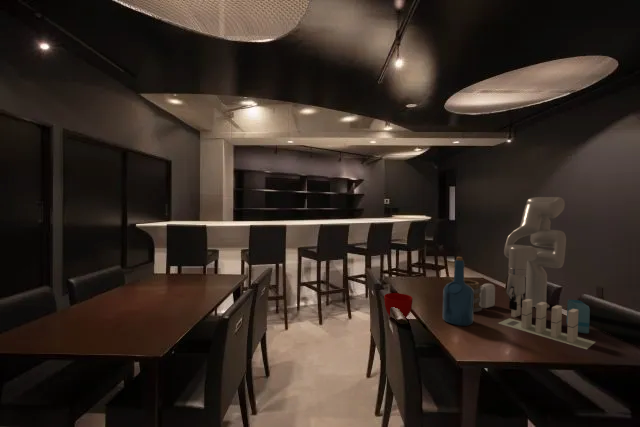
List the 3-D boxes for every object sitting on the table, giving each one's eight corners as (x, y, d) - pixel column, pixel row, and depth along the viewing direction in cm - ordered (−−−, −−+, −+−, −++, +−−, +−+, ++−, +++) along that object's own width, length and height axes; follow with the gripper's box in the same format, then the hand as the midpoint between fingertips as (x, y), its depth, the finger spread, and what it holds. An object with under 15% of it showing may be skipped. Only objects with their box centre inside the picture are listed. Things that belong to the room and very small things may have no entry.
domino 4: (555, 333, 134) (556, 305, 134) (561, 334, 133) (562, 306, 133) (550, 336, 131) (551, 307, 130) (555, 337, 129) (557, 308, 129)
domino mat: (509, 319, 152) (509, 318, 152) (595, 342, 126) (595, 341, 126) (497, 324, 145) (497, 323, 145) (586, 350, 119) (586, 349, 119)
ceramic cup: (410, 312, 159) (411, 292, 159) (412, 323, 142) (413, 301, 142) (384, 309, 162) (384, 290, 161) (383, 320, 145) (384, 299, 145)
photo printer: (487, 304, 176) (488, 281, 176) (495, 306, 172) (496, 283, 172) (477, 306, 170) (478, 283, 170) (485, 309, 167) (486, 285, 166)
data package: (589, 335, 134) (590, 307, 134) (576, 333, 136) (577, 305, 135) (578, 325, 145) (579, 299, 145) (566, 324, 147) (567, 298, 147)
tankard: (485, 309, 166) (486, 281, 166) (472, 313, 159) (473, 283, 158) (450, 299, 182) (451, 273, 182) (437, 303, 175) (438, 276, 175)
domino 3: (540, 328, 139) (541, 301, 138) (545, 330, 137) (546, 302, 137) (535, 331, 135) (536, 304, 135) (540, 333, 134) (541, 305, 133)
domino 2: (526, 325, 143) (527, 298, 143) (531, 326, 142) (532, 299, 141) (521, 327, 139) (522, 300, 139) (525, 329, 138) (526, 301, 138)
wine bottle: (449, 314, 156) (451, 254, 155) (477, 322, 147) (479, 257, 146) (436, 321, 146) (438, 256, 146) (466, 329, 137) (468, 260, 136)
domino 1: (516, 314, 158) (517, 290, 158) (520, 315, 157) (521, 291, 157) (511, 317, 155) (511, 292, 155) (515, 318, 153) (515, 293, 153)
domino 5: (571, 337, 130) (573, 308, 130) (577, 339, 128) (578, 309, 128) (566, 341, 126) (568, 311, 126) (572, 342, 125) (573, 312, 125)
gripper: (516, 268, 164) (515, 303, 164) (501, 272, 153) (499, 309, 154) (533, 271, 158) (531, 307, 158) (518, 275, 147) (516, 313, 148)
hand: (516, 307), depth 156 cm, fingers closed on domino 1, 6 cm apart
